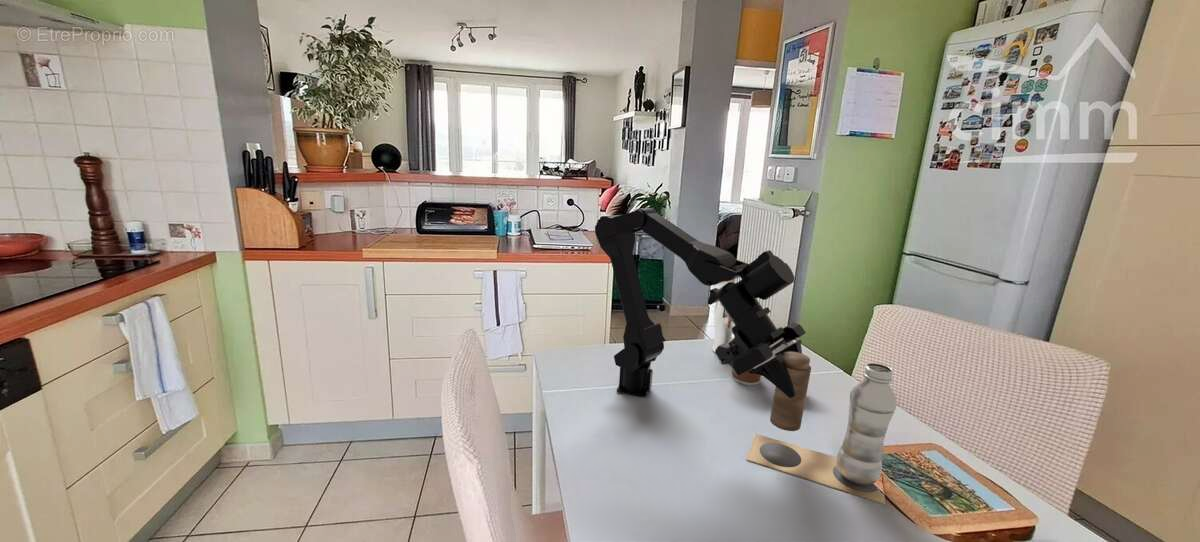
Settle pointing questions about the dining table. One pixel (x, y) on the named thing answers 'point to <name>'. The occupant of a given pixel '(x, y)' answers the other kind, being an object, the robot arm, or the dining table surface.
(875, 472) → the plastic bottle
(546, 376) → the dining table surface
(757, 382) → the coffee cup
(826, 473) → the board
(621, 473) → the dining table surface
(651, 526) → the dining table surface
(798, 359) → the pepper mill
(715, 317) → the white pump bottle
